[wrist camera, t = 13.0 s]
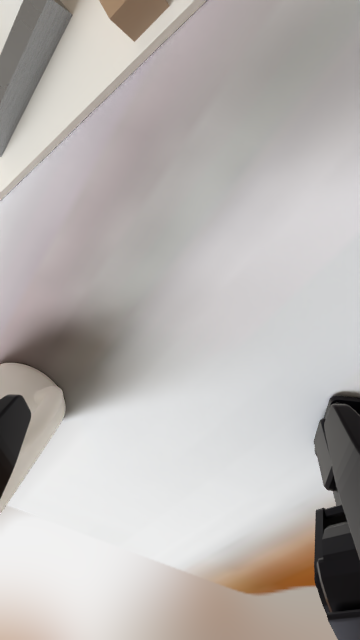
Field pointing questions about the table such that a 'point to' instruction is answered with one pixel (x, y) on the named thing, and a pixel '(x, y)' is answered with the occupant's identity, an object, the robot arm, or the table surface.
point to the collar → (27, 58)
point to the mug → (44, 417)
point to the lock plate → (84, 70)
